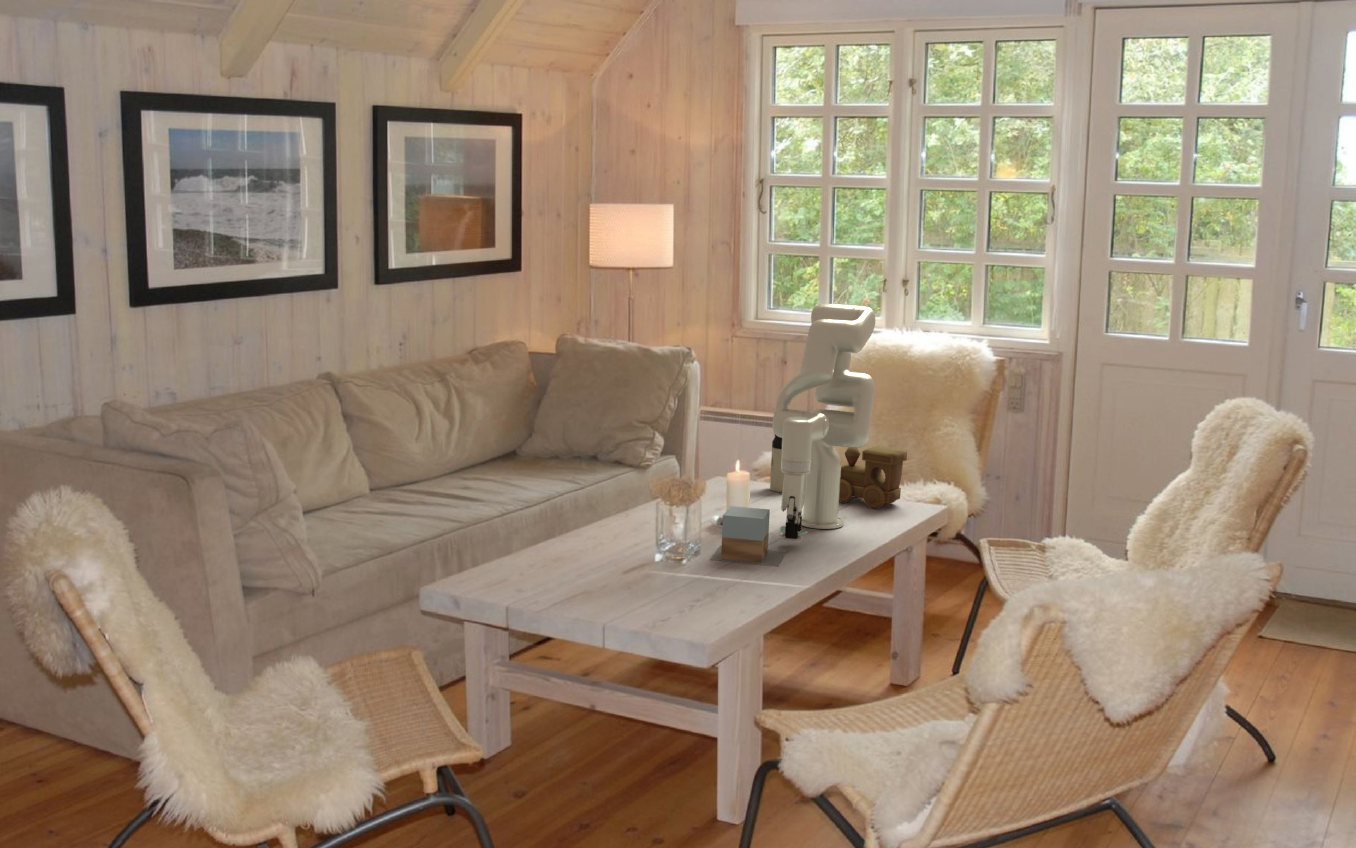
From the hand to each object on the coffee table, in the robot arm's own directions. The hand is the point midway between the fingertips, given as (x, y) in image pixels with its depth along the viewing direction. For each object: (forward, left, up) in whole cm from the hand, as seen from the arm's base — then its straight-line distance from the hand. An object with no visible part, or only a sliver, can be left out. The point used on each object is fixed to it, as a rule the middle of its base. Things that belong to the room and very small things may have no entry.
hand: (793, 533), depth 358 cm
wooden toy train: (-56, +14, -4) cm, 58 cm away
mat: (+13, -9, -4) cm, 16 cm away
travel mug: (-64, -12, -4) cm, 65 cm away
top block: (+13, -10, +2) cm, 17 cm away
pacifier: (+1, 0, -1) cm, 1 cm away
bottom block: (+13, -10, -3) cm, 17 cm away
